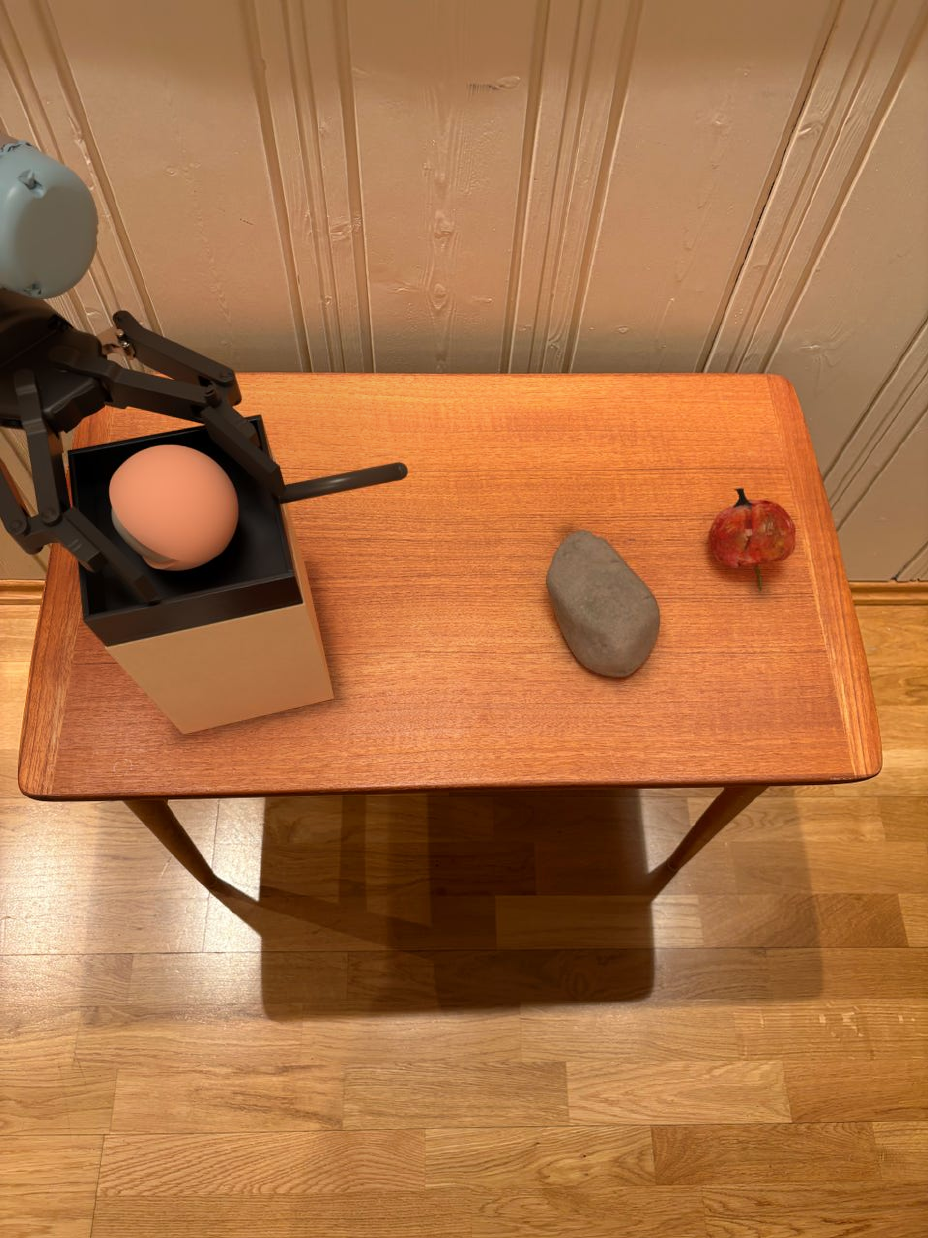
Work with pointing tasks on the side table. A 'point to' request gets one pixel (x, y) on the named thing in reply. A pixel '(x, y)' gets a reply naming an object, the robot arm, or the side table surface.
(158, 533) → the toy ball
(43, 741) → the side table surface
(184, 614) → the pan
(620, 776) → the side table surface
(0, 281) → the robot arm
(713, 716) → the side table surface
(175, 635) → the stand
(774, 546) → the pomegranate
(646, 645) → the stone
